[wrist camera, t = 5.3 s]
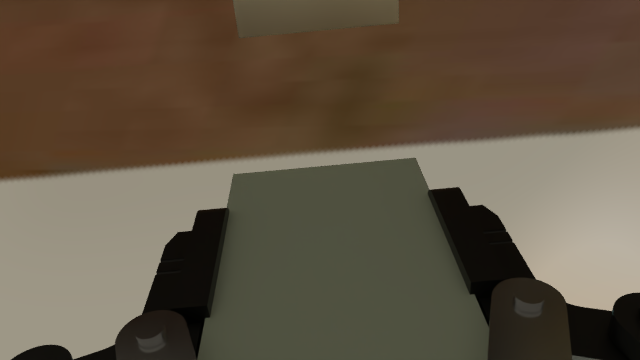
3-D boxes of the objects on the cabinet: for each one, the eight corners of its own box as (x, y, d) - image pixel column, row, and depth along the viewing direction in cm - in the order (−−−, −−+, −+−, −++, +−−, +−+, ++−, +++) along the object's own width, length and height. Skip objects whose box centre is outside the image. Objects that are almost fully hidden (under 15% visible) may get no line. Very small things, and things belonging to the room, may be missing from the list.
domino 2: (233, 174, 15) (152, 594, 6) (415, 157, 15) (586, 554, 6) (242, 222, 16) (180, 656, 7) (414, 207, 16) (567, 621, 7)
